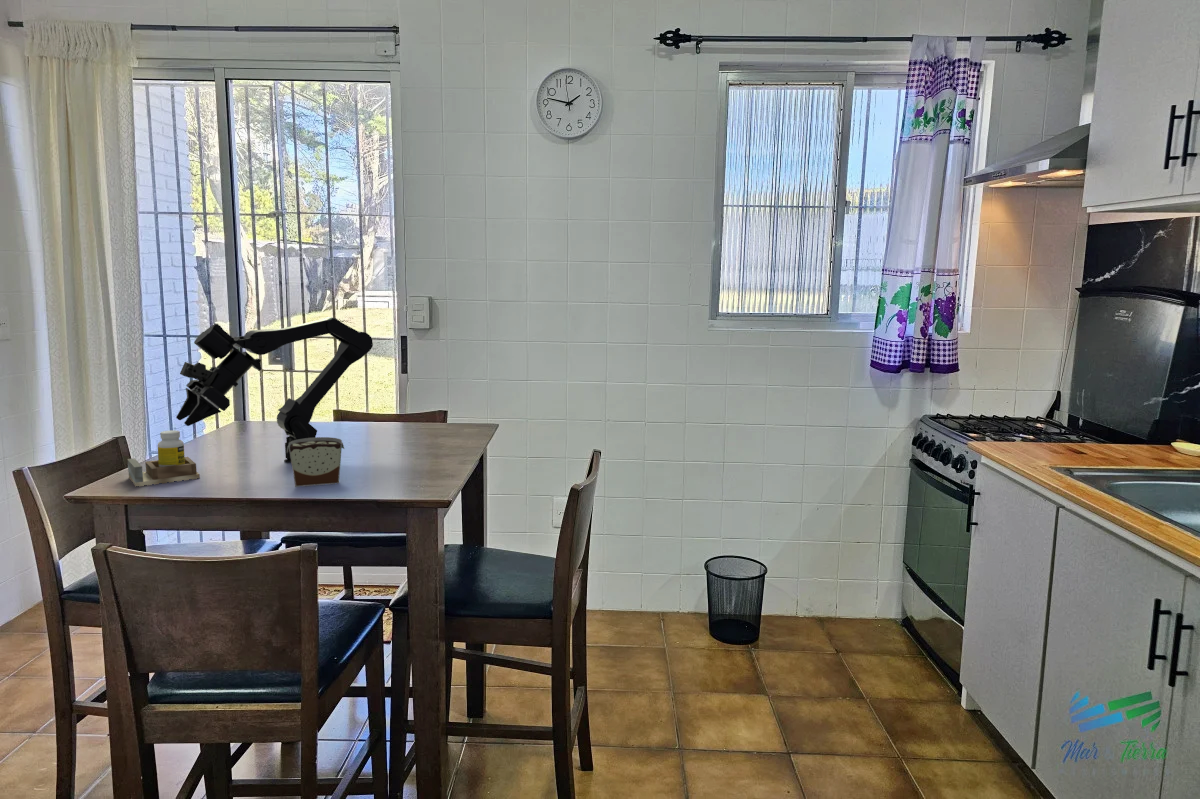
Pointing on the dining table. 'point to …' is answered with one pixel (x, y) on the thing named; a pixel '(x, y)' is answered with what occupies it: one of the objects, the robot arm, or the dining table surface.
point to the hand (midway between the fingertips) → (181, 421)
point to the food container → (315, 460)
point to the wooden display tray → (161, 472)
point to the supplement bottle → (170, 449)
